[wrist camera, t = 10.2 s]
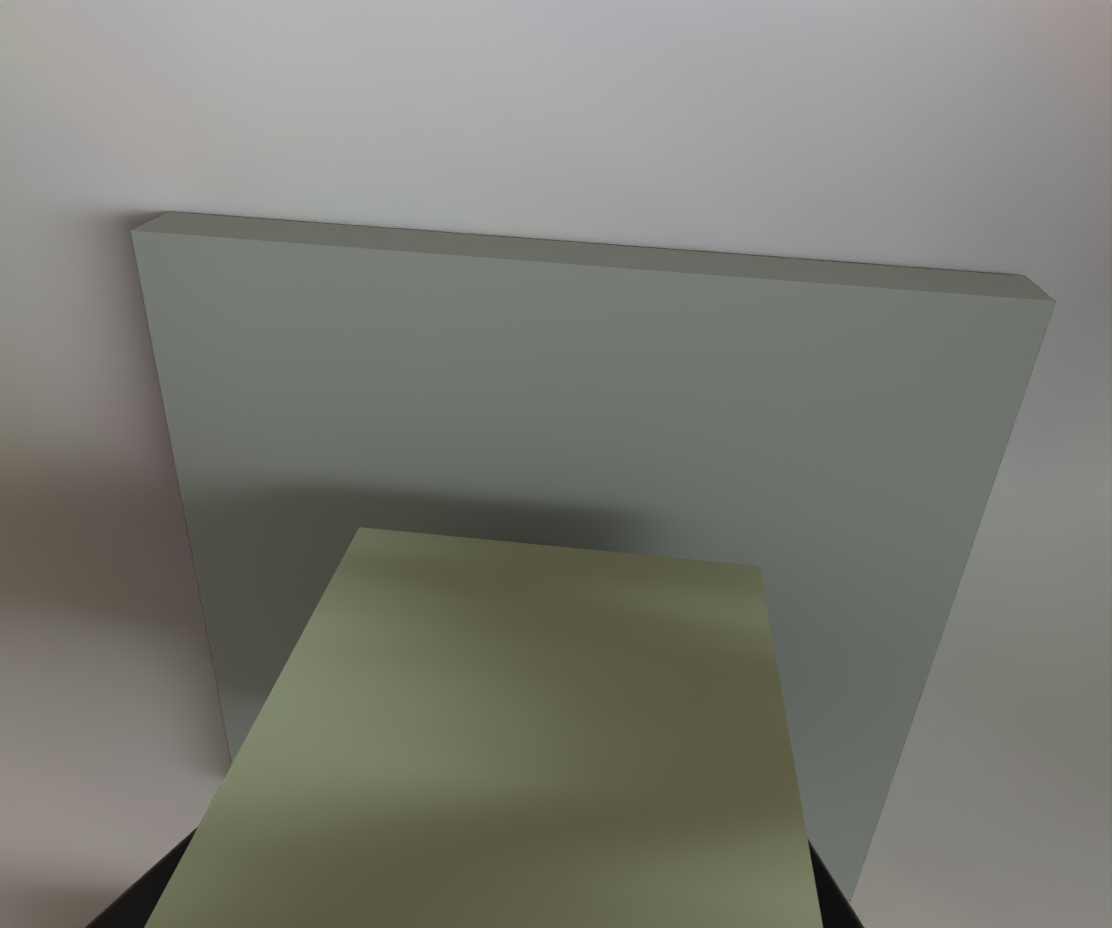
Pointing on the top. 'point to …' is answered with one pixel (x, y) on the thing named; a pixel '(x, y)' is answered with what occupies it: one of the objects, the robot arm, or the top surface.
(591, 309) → the pad
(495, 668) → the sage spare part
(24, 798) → the top surface
